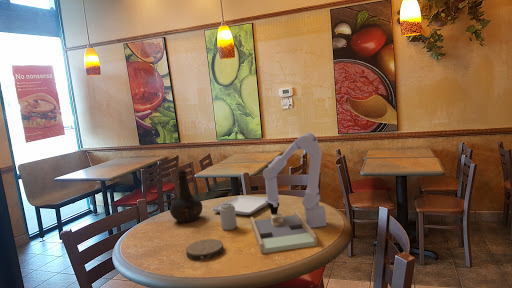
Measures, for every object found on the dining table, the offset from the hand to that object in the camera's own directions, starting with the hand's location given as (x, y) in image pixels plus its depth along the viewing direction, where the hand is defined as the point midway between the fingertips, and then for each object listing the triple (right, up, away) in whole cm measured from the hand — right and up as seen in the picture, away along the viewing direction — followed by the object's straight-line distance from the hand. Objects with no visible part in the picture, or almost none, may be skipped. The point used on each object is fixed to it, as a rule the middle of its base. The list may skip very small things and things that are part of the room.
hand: (274, 216), depth 193 cm
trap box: (+2, -5, -16) cm, 17 cm away
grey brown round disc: (-31, -11, -28) cm, 43 cm away
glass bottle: (-47, -5, +20) cm, 51 cm away
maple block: (+1, -2, -7) cm, 8 cm away
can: (-23, -6, -1) cm, 23 cm away
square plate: (-16, -1, +30) cm, 34 cm away
